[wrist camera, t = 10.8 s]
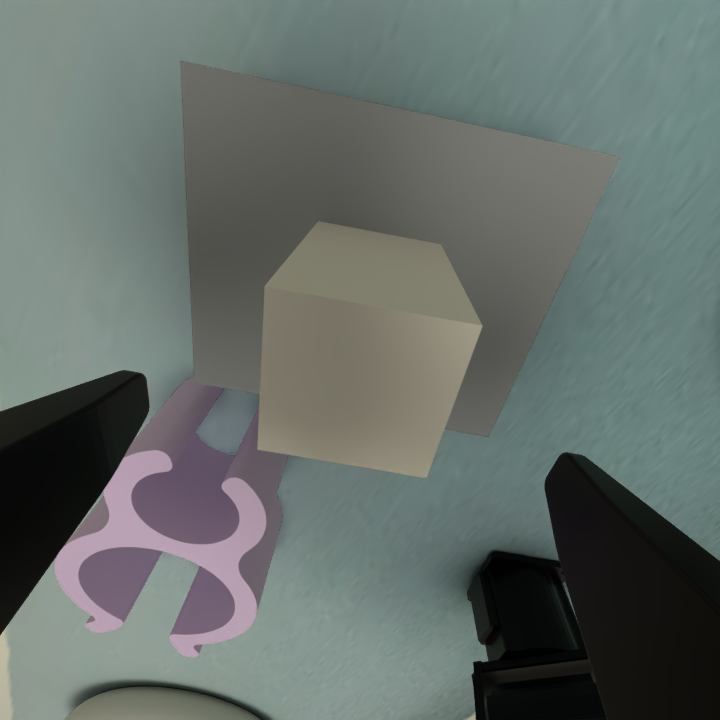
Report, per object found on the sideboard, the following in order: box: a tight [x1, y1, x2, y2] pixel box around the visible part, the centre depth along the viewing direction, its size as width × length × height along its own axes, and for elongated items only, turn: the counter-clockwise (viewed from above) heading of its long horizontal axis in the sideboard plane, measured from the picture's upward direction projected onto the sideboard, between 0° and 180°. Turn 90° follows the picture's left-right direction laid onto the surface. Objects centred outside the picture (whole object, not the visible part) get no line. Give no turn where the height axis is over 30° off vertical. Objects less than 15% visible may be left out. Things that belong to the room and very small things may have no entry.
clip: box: [55, 377, 288, 657], centre depth 26 cm, size 20×12×7 cm, turn 156°
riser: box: [181, 61, 620, 437], centre depth 17 cm, size 14×12×5 cm
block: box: [257, 221, 482, 478], centre depth 12 cm, size 4×4×7 cm
